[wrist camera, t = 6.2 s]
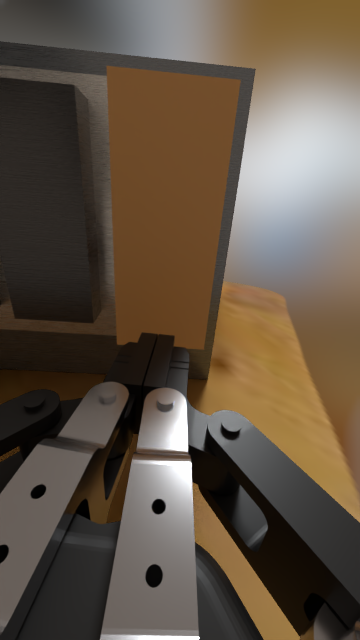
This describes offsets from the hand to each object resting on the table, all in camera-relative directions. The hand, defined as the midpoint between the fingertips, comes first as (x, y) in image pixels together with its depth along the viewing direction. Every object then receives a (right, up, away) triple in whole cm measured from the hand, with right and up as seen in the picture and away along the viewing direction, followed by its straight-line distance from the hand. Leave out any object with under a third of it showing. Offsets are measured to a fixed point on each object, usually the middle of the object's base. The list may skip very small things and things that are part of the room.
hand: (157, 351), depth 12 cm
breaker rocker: (0, 0, +4) cm, 4 cm away
